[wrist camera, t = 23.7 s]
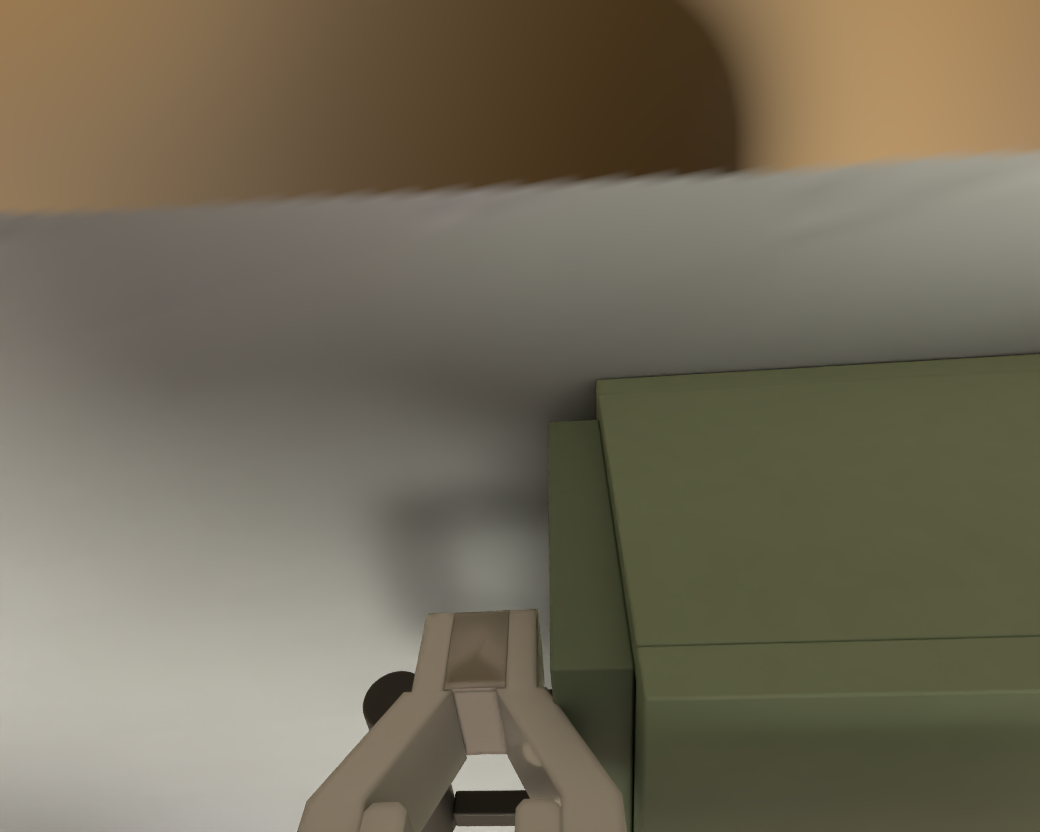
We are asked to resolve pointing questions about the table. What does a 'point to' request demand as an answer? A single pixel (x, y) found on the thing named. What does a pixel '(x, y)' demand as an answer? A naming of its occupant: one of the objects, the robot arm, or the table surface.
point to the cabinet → (832, 595)
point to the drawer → (565, 631)
